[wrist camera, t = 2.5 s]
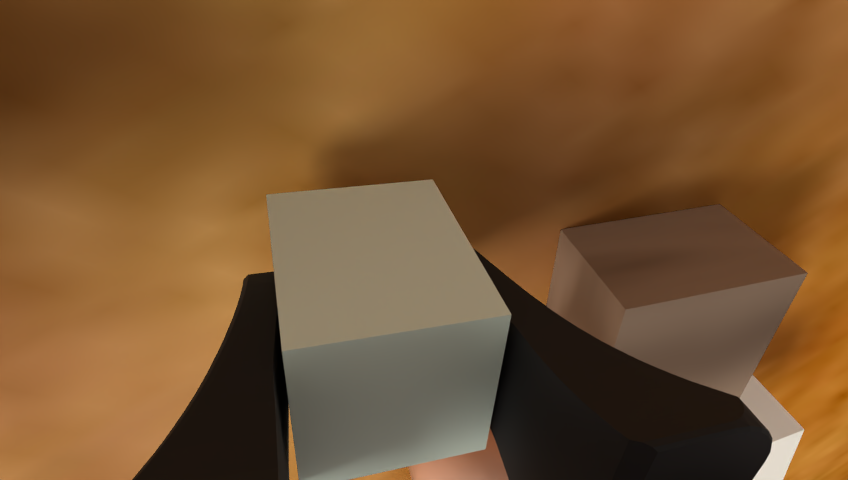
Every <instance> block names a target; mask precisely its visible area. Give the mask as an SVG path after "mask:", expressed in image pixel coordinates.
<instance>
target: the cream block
mask: <svg viewBox="0 0 848 480" xmlns="http://www.w3.org/2000/svg"><path fill="white" fill-rule="evenodd" d="M740 399H741V400H742V401H743V403H744V404H745V405H746V406H747V407H748V408H749V409H750V410H751V411H752V413H753V414H754V415H755V416H756V417H757V418H758V419H759V420H760V422H761V423H762V424H763V425H764V426H765V427H766V428H767V429H768V430H769V432H770V434H771V436H772V438H773V439H772V446H771V452H770V454H769V456H768V457H767V459H766V461H765V463H764V464H763V465H762V467H761V468H760V470H759V471H758V473H757V474H756V476H755V477H754V478H753V480H783V478H784V476H785V474H786V471H787V469H788V467H789V464H790V462H791V460H792V457H793V455H794V453H795V450H796V448H797V446H798V443H799V441H800V439H801V436H802V434H803V432H804V429H803V428H802V427H801V425H800V424H799V423H798V422H797V421H796V420H795V419H794V418H793V417H792V416H791V415H790V414H789V413H788V412H787V411H786V410H785V409H784V407H783V406H782V405H781V404H780V403H779V402H778V401H777V400H776V399H775V398H774V397H773V396H772V395H771V394H770V393H769V392H768V391H767V390H766V388H765V387H764V386H763V385H762V384H761V383H760V382H759V381H758V380H757V379H756V378H755V377H754V376H753V375H752V376H751V378H750V380H749V382H748V384H747V385H746V387H745V389H744V391H743V393H742V395H741V396H740Z"/></svg>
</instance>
